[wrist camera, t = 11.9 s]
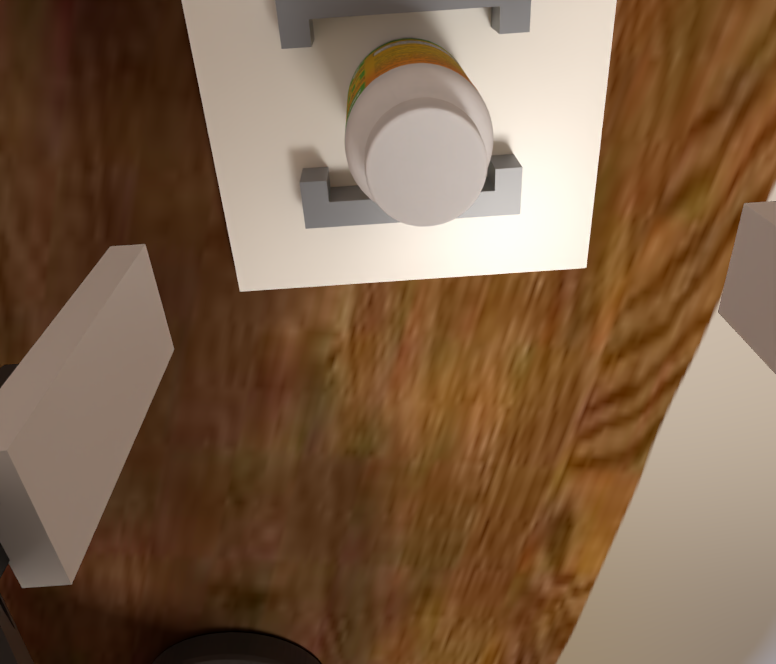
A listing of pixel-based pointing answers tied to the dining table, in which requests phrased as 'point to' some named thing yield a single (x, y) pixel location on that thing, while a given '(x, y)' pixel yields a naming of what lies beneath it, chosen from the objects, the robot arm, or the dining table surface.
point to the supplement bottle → (417, 132)
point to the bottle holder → (328, 121)
